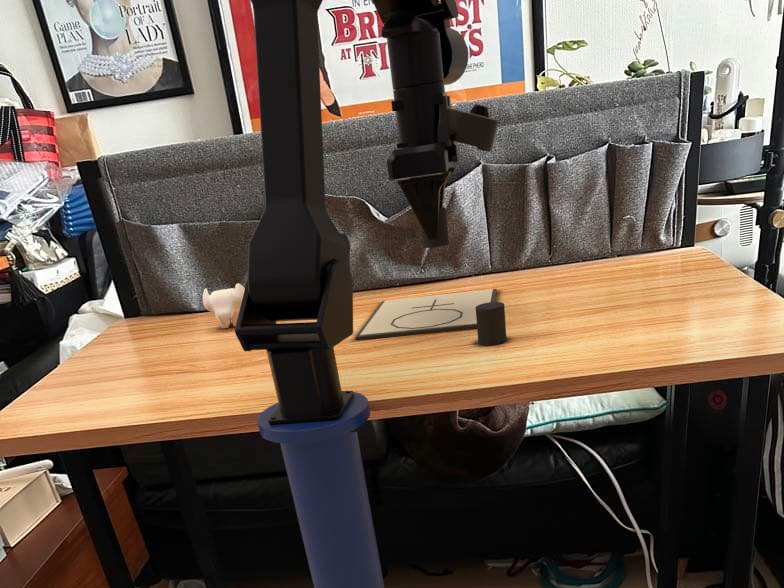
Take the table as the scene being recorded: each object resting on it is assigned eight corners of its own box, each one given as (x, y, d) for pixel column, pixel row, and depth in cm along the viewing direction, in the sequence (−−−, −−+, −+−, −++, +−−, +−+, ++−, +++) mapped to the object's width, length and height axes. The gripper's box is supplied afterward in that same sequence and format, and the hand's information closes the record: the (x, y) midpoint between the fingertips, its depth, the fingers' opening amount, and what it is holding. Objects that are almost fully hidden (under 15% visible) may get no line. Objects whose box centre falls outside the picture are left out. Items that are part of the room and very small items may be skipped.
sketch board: (490, 327, 88) (490, 322, 87) (355, 340, 91) (354, 335, 91) (496, 291, 105) (496, 287, 104) (382, 303, 108) (382, 299, 108)
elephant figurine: (205, 336, 105) (193, 294, 102) (215, 323, 112) (204, 283, 109) (250, 329, 105) (240, 286, 102) (257, 316, 112) (248, 277, 109)
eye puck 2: (506, 343, 80) (503, 307, 78) (477, 346, 81) (474, 310, 79) (506, 336, 83) (504, 300, 81) (479, 338, 84) (476, 303, 82)
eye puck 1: (447, 245, 86) (444, 209, 84) (421, 249, 87) (417, 213, 85) (450, 241, 89) (446, 206, 87) (424, 244, 90) (420, 209, 88)
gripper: (487, 71, 70) (498, 241, 78) (494, 77, 86) (503, 218, 94) (376, 89, 72) (397, 253, 80) (403, 92, 88) (419, 228, 96)
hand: (434, 236), depth 88 cm, fingers closed on eye puck 1, 3 cm apart
